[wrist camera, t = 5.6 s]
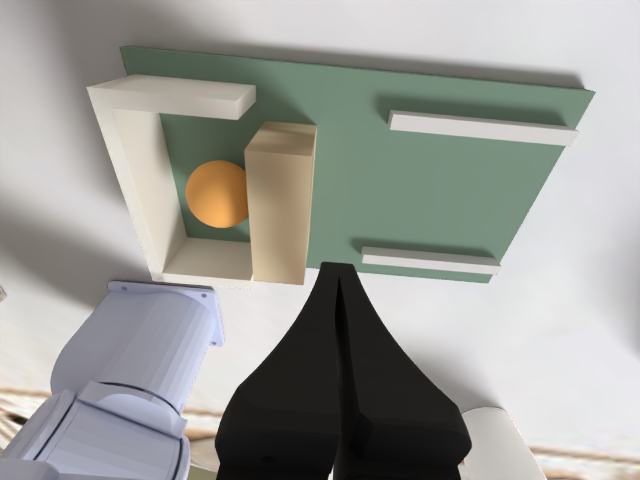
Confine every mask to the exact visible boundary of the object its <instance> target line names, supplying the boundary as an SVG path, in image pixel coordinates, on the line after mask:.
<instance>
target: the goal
mask: <svg viewBox="0 0 640 480" xmlns="http://www.w3.org/2000/svg"><path fill="white" fill-rule="evenodd" d="M86 88H87V91H88V94H89V97H90V100H91V103H92V106H93V109H94V111H95V114H96V117H97V120H98V123H99V126H100V129H101V132H102V135H103V138H104V141H105V143H106V146H107V149H108V152H109V155H110V158H111V161H112V164H113V167H114V170H115V172H116V175H117V178H118V181H119V184H120V187H121V190H122V193H123V196H124V199H125V202H126V204H127V207H128V210H129V213H130V216H131V219H132V222H133V225H134V228H135V231H136V233H137V236H138V239H139V242H140V245H141V248H142V251H143V254H144V257H145V260H146V263H147V265H148V268H149V271H150V274H151V277H152V280H153V281H158V282H170V283H181V284H193V285H205V286H216V287H228V288H240V289H251V288H252V285H253V282H254V280H253V266H252V252H251V243H247V242H236V241H224V240H213V239H202V238H190V237H187V235H186V230H185V226H184V222H183V217H182V213H181V208H180V204H179V199H178V195H177V190H176V186H175V182H174V177H173V173H172V168H171V164H170V159H169V155H168V151H167V146H166V142H165V137H164V133H163V128H162V124H161V119H160V115H159V113H166V114H177V115H188V116H199V117H210V118H221V119H232V120H238V119H239V118H240V117H241V116H242V115H243V114H244V113H245V112H246V111H247V110H248V109H249V108H250V107H251V106H252V105H253V104H254V103H255V102H256V85H247V84H236V83H226V82H215V81H204V80H193V79H183V78H172V77H161V76H151V75H140V74H134V75H130V76H127V77H123V78H119V79H115V80H111V81H107V82H104V83H100V84H96V85H92V86H88V87H86Z"/></svg>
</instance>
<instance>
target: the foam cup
mask: <svg viewBox="0 0 640 480" xmlns="http://www.w3.org/2000/svg"><path fill="white" fill-rule="evenodd" d="M461 415H462V417H463V420H464V422H465V424H466V427H467V429H468V432H469V435H470V438H471V441H472V448H471V450H470V452H469V454H468V455H467V456H466V457H465V458H464V462H465V468H466V473H467V479H468V480H547V478H546V477H545V475H544V473H543V471H542V470H541V468H540V466H539V465H538V463H537V461H536V459H535V458H534V456H533V454H532V453H531V451H530V449H529V447H528V446H527V444H526V442H525V441H524V439H523V437H522V435H521V434H520V432H519V430H518V429H517V427H516V425H515V423H514V422H513V420H512V419H511V418H510V415H509V414H508V413H507V412H506V410H503V409H500V408H497V407H482V408H475V409H472V410H469V411H466V412H464V413H463V414H461Z"/></svg>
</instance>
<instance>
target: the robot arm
mask: <svg viewBox="0 0 640 480" xmlns="http://www.w3.org/2000/svg"><path fill="white" fill-rule="evenodd" d="M107 287H108V289H109V291H110V292H109V294H108V295H107V296H106V297H105V298H104V300H103V301H102V302H101V303H100V304H99V306H98V307H97V308H96V309H95V310H94V312H93V313H92V314H91V315H90V316H89V318H88V319H87V320H86V321H85V322H84V324H83V325H82V326H81V327H80V328H79V329H78V331H77V332H76V333H75V334H74V335H73V337H72V338H71V339H70V340H69V341H68V343H67V344H66V345H65V347H64V348H63V349H62V351H61V353H60V354H59V356H58V358H57V361H56V363H55V365H54V368H53V371H52V375H51V391H52V396H50V397H49V398H48V399H46V400H45V402H44V403H43V404H42V405H41V406H40V407H39V408H38V409H37V410H36V412H35V413H34V414H33V415H32V416H31V417H30V419H29V420H28V421H27V422H26V423H25V425H24V426H23V427H22V428H21V430H20V431H19V432H18V433H17V434H16V436H15V437H14V438H13V439H12V441H11V442H10V443H9V445H8V446H7V447H6V448H5V450H4V451H3V452H2V453H1V455H0V480H186V479H187V476H188V472H189V466H190V443H189V440H188V438H187V437H186V436H184V435H183V432H184V430H185V427H186V424H187V420H186V419H183V418H182V417H181V414H182V412H183V409H184V407H185V404H186V402H187V399H188V396H189V394H190V391H191V389H192V386H193V384H194V381H195V379H196V376H197V374H198V371H199V369H200V366H201V363H202V361H203V358H204V356H205V353H206V351H207V348H208V346H223V345H224V342H225V340H224V334H223V329H222V323H221V318H220V312H219V307H218V301H217V295H216V292H215V291H214V290H211V289H201V288H189V287H178V286H166V285H154V284H143V283H131V282H119V281H111V282H109V284H108V285H107ZM215 448H216V452H217V455H218V458H219V461H220V466H219V470H218V474H217V478H216V480H328V477H329V474H331V471H332V468H333V480H461V477H460V473H459V470H458V465H459V464H460V462H461V461H462V460H463V459H464V458H465V457H466V456H467V455H468V454H469V452H470V450H471V448H472V441H471V438H470V435H469V432H468V429H467V427H466V424H465V422H464V420H463V417H462V415H461V413H460V411H459V409H458V407H457V405H456V404H455V403H454V402H452V401H451V400H450V399H449V398H448V397H447V396H446V395H445V394H444V393H443V392H442V391H440V390H439V389H438V388H437V387H436V386H435V385H434V384H433V383H432V382H431V381H430V380H429V379H428V378H427V377H426V376H425V375H424V374H423V373H422V372H421V371H420V369H419V368H418V367H417V366H416V365H415V364H414V363H413V361H412V360H411V359H410V358H409V357H408V356H407V354H406V353H405V352H404V351H403V350H402V349H401V347H400V346H399V345H398V343H397V342H396V341H395V339H394V338H393V337H392V335H391V334H390V333H389V331H388V330H387V328H386V327H385V325H384V324H383V322H382V321H381V319H380V317H379V316H378V314H377V313H376V311H375V309H374V307H373V306H372V304H371V302H370V300H369V298H368V296H367V294H366V292H365V290H364V288H363V286H362V284H361V282H360V279H359V277H358V275H357V272H356V269H355V266H354V265H353V264H348V263H337V262H325V261H323V262H322V263H321V265H320V271H319V274H318V277H317V280H316V282H315V285H314V287H313V289H312V291H311V293H310V296H309V298H308V299H307V301H306V303H305V305H304V307H303V308H302V310H301V312H300V314H299V315H298V317H297V318H296V320H295V322H294V323H293V324H292V326H291V327H290V329H289V330H288V332H287V333H286V334H285V336H284V337H283V338H282V340H281V341H280V342H279V343H278V345H277V346H276V347H275V348H274V350H273V351H272V352H271V353H270V354H269V355H268V356H267V358H266V359H265V360H264V361H263V362H262V363H261V364H260V365H259V366H258V367H257V369H256V370H255V371H254V372H253V373H251V374H250V375H249V376H248V377H247V378H246V379H245V380H244V381H243V382H242V383H241V384H240V385H239V386H238V388H237V389H236V391H235V393H234V394H233V396H232V398H231V400H230V402H229V404H228V405H227V407H226V410H225V412H224V414H223V417H222V419H221V422H220V425H219V428H218V432H217V435H216V439H215ZM333 464H334V466H333Z"/></svg>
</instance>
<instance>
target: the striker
mask: <svg viewBox="0 0 640 480" xmlns="http://www.w3.org/2000/svg"><path fill="white" fill-rule="evenodd" d="M316 134H317V125H309V124H298V123H287V122H276V121H265V122H264V123H263V125H262V126H261V127H260V129H259V130H258V132H257V133H256V134H255V136H254V137H253V139H252V140H251V141H250V143H249V144H248V146H247V147H246V148H245V150H244V155H245V169H246V183H247V197H248V211H249V224H250V238H251V252H252V266H253V280H254V281H260V282H272V283H283V284H295V285H303V284H304V276H305V268H306V260H307V252H308V244H309V234H310V220H311V206H312V191H313V177H314V162H315V148H316Z"/></svg>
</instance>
